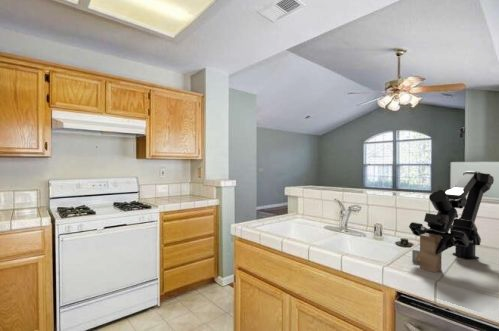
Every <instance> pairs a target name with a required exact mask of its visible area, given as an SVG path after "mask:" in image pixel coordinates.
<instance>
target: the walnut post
mask: <svg viewBox="0 0 499 331" xmlns="http://www.w3.org/2000/svg"><path fill="white" fill-rule="evenodd" d="M441 240H442V236H439V235H434V234H429V233H425V234H421V235H420V236H419V248H420V262H419V268H420V269H422V270H426V271H429V272H431V273H437V272H440V271H441V270H442V258H443V257H442V256H443V255H442V253H443V252H441V253H440V254H438V255H437V254H436V250H437V248H438V246H439V244H440V242H441Z"/></svg>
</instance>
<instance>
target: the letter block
mask: <svg viewBox="0 0 499 331" xmlns="http://www.w3.org/2000/svg"><path fill="white" fill-rule="evenodd" d="M411 252H412V253H411V254H412V255H411V256H412V259H411V261H413V262H417V263H420V247H416V246H413V247H412V251H411Z"/></svg>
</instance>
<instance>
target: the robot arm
mask: <svg viewBox="0 0 499 331" xmlns="http://www.w3.org/2000/svg"><path fill="white" fill-rule="evenodd" d="M494 180H495V179H494V176H492V175H491V174H490V173H483V172H480V171H476V170H466V171H464V172H463V174H462V176H461V178H459V180H458V182H457V183H456V184H455V186H454V187H453V188H451V189H447V190H445V189H441V188H440V189H438V190H437V191H434V192H432V193H431V194H429V196H428V199H429V201H430V203H431V204H432V206H433V208H434V210H436V211H437V213H436V214H434V213H430V212H429V213H428V212H426V213H425V215H424V220H423V222H426V223H427V224H426V225H427V227H426V226H424V225H423V224H422V223H419V222H414V221H412V222H410V224H409V226H408V228H409V229H410V231H411V232H412V234H413V235H414V236H416V237H420V235H421V234H425V233H429V234H434V235H439V236H442V240H441V242H440V244H439V246H438V248H437V250H436V254H437V255H438V254H440V253H441V252H442V253H443V252H444V251H446V250H448V249H450V248H452V247H455V249H454V250H455V252H452V255H454V256H457V257H459V258H462V259H465V260H474V259H475V260H477V259H480V257H479V256H477V255H476V246H481V242H482V238H481V236H480V234H479V233H478V227H477V226H476V224H475V223H476V222H475V221H476V220H477V215H478V213H479V208H480V206H481V202H482V199H483V195H484V194H485V193H487V191H490V189H491V187H492V185H493V184H494ZM457 209H462V213H461V215H460V217H459V214H458V211H457ZM428 227H429V228H428Z"/></svg>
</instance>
